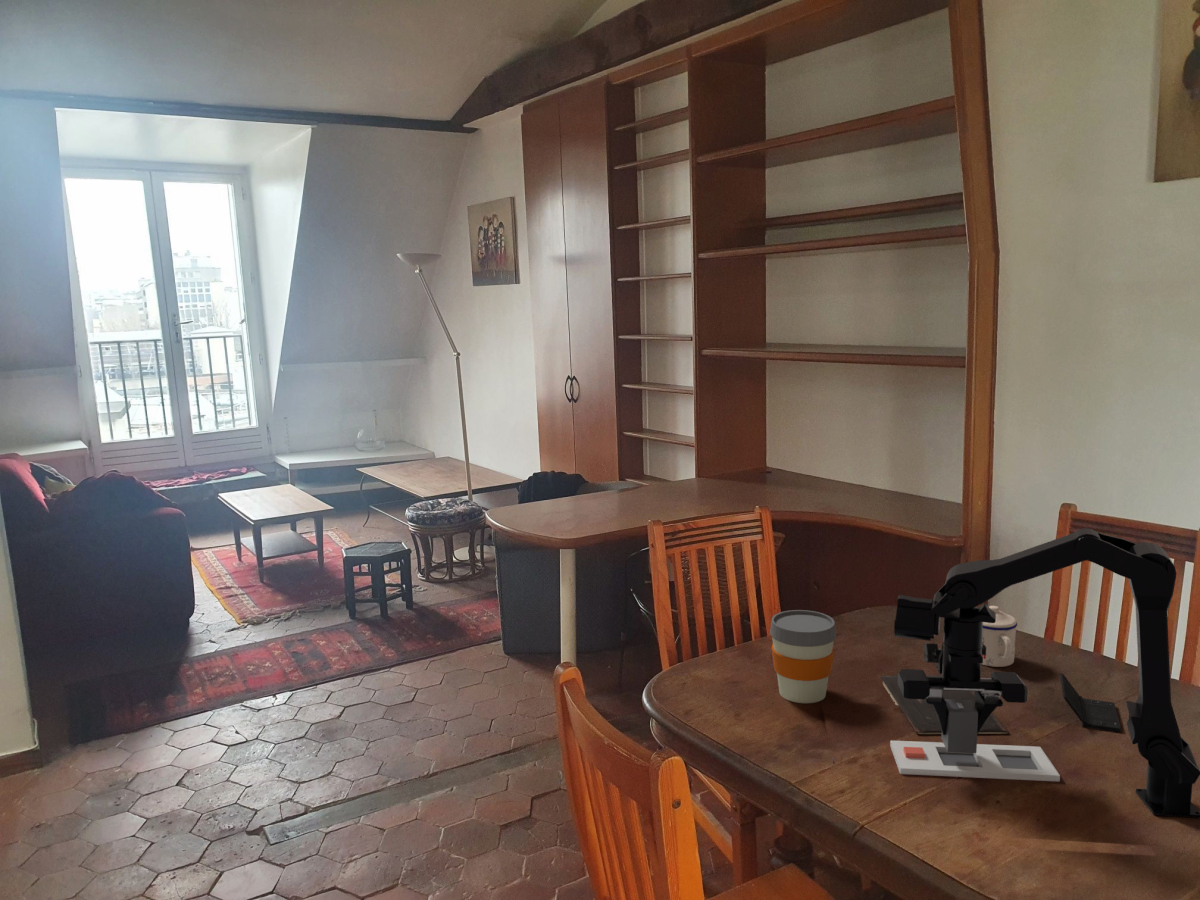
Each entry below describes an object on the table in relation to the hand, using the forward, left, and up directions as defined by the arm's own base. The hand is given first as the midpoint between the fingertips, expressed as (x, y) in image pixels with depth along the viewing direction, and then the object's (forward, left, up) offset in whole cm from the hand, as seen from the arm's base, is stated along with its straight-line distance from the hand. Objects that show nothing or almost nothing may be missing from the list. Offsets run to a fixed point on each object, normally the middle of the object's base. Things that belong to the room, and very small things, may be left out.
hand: (958, 734), depth 141 cm
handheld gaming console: (+21, -28, -6) cm, 36 cm away
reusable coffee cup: (+26, +23, -6) cm, 35 cm away
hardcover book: (+21, -2, -7) cm, 22 cm away
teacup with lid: (+44, -18, -6) cm, 48 cm away
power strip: (0, +3, -6) cm, 7 cm away
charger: (0, 0, -2) cm, 2 cm away
